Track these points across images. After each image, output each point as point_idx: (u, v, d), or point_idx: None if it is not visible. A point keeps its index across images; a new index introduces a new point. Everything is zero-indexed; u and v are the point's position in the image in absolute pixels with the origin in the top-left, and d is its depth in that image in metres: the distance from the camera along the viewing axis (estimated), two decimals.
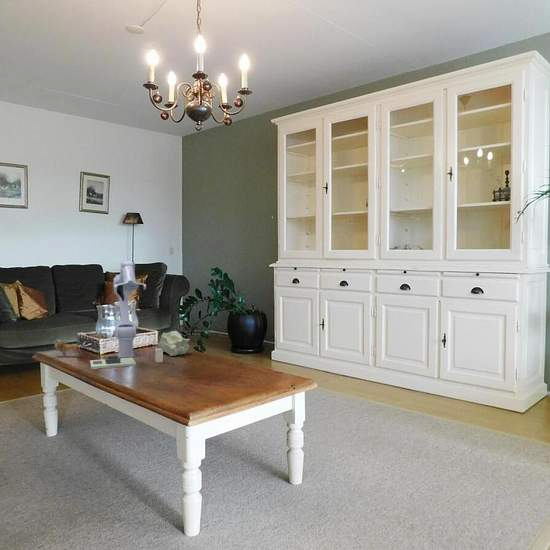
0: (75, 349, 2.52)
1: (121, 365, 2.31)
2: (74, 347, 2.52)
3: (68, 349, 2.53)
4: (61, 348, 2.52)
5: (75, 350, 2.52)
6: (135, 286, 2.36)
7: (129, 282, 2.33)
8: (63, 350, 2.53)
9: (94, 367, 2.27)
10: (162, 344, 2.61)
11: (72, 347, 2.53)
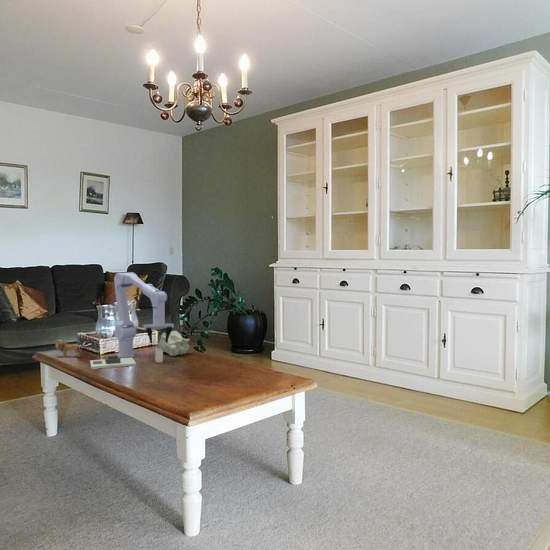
0: (76, 349, 2.52)
1: (121, 365, 2.31)
2: (75, 347, 2.52)
3: (69, 349, 2.53)
4: (62, 348, 2.52)
5: (76, 350, 2.52)
6: (163, 326, 2.44)
7: (158, 326, 2.41)
8: (64, 350, 2.53)
9: (94, 367, 2.27)
10: (162, 344, 2.61)
11: (73, 347, 2.53)
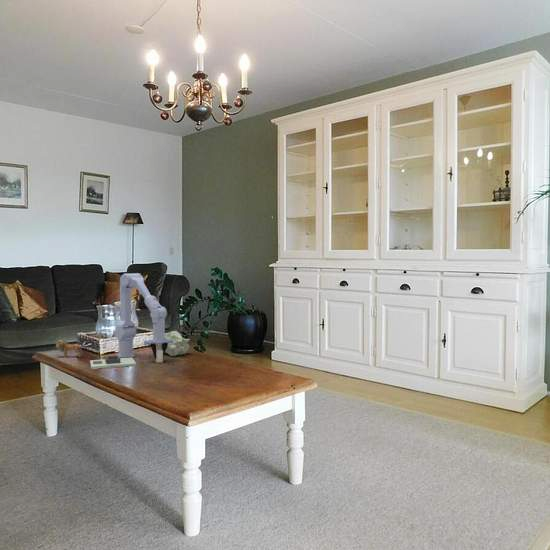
0: (76, 349, 2.52)
1: (121, 365, 2.31)
2: (75, 347, 2.52)
3: (69, 349, 2.53)
4: (62, 348, 2.52)
5: (76, 350, 2.52)
6: (163, 342, 2.44)
7: (158, 342, 2.41)
8: (64, 350, 2.53)
9: (94, 367, 2.27)
10: None
11: (73, 347, 2.53)
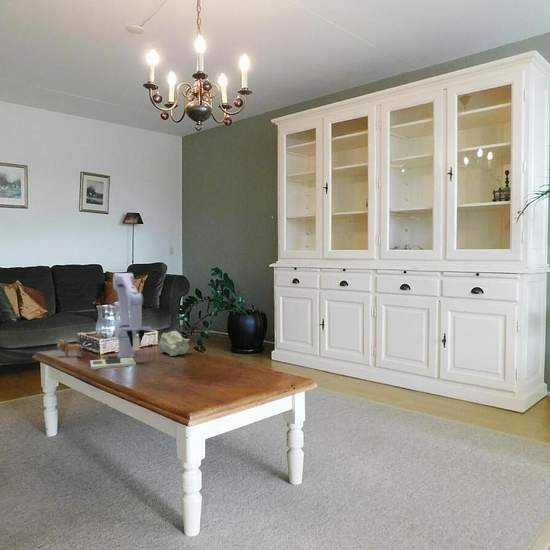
0: (78, 349, 2.52)
1: (121, 365, 2.31)
2: (77, 347, 2.52)
3: (70, 349, 2.53)
4: (63, 348, 2.52)
5: (78, 350, 2.52)
6: (140, 329, 2.40)
7: (135, 329, 2.37)
8: (65, 350, 2.53)
9: (94, 367, 2.27)
10: (162, 344, 2.61)
11: (75, 347, 2.53)
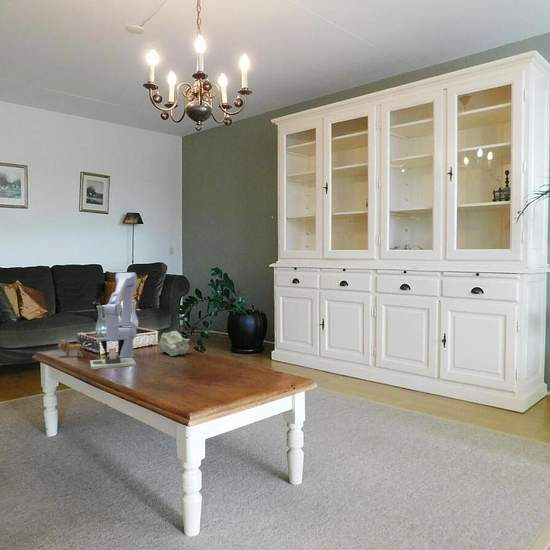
0: (79, 349, 2.52)
1: (121, 365, 2.31)
2: (78, 347, 2.52)
3: (72, 349, 2.53)
4: (65, 348, 2.52)
5: (79, 350, 2.52)
6: (117, 339, 2.37)
7: (111, 339, 2.33)
8: (67, 350, 2.53)
9: (94, 367, 2.27)
10: (162, 344, 2.61)
11: (76, 347, 2.53)
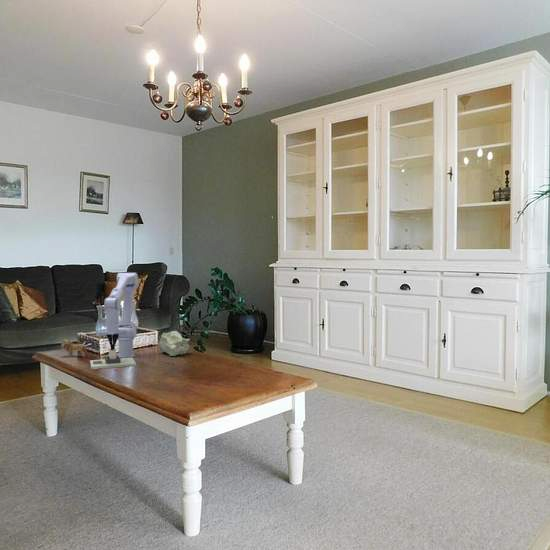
0: (81, 349, 2.53)
1: (121, 365, 2.31)
2: (80, 347, 2.53)
3: (74, 349, 2.54)
4: (68, 348, 2.53)
5: (81, 350, 2.53)
6: (117, 333, 2.37)
7: (111, 333, 2.33)
8: (69, 350, 2.53)
9: (94, 367, 2.27)
10: (162, 344, 2.61)
11: (78, 347, 2.53)
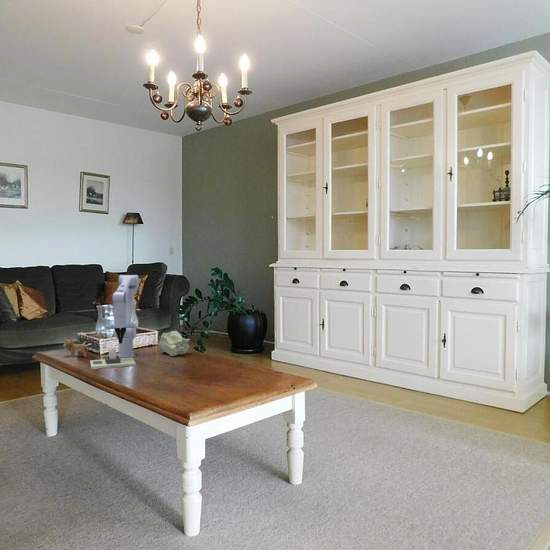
0: (83, 349, 2.53)
1: (121, 365, 2.31)
2: (82, 347, 2.53)
3: (76, 349, 2.54)
4: (69, 348, 2.54)
5: (83, 350, 2.53)
6: (125, 327, 2.42)
7: (119, 327, 2.39)
8: (71, 350, 2.54)
9: (94, 367, 2.27)
10: (162, 344, 2.61)
11: (80, 347, 2.53)
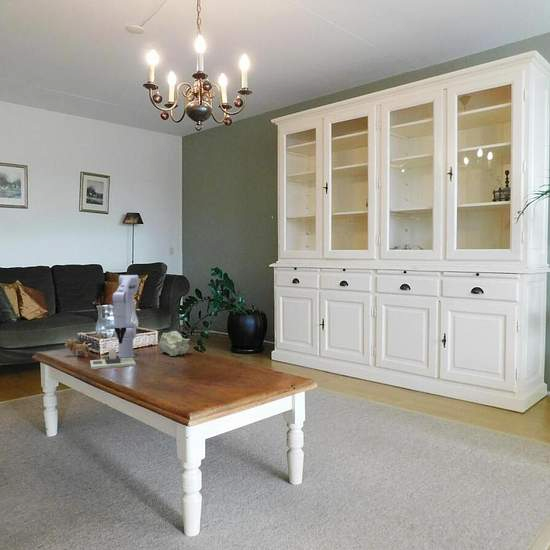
0: (84, 349, 2.53)
1: (121, 365, 2.31)
2: (83, 347, 2.53)
3: (78, 349, 2.54)
4: (71, 348, 2.54)
5: (84, 350, 2.53)
6: (125, 327, 2.42)
7: (119, 327, 2.39)
8: (73, 350, 2.54)
9: (94, 367, 2.27)
10: (162, 344, 2.61)
11: (81, 347, 2.53)
